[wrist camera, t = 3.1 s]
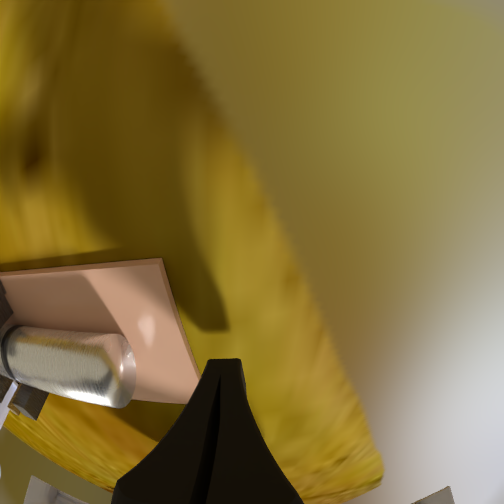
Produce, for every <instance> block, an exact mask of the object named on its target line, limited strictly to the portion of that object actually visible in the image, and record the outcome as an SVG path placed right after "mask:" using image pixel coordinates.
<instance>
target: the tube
mask: <svg viewBox="0 0 504 504" xmlns="http://www.w3.org/2000/svg"><path fill="white" fill-rule="evenodd" d="M0 374H1V375H3V376H5V377H8V378H10V379H13V380H15V381H17V382H20V383H22V384H26V385H29V386H32V387H35V388H38V389H41V390H44V391H47V392H50V393H54V394H57V395H61V396H64V397H68V398H72V399H76V400H80V401H84V402H88V403H93V404H98V405H103V406H108V407H113V408H123V407H125V406H126V405H127V404H128V403H129V402H130V400H131V398H132V396H133V393H134V390H135V385H136V363H135V358H134V354H133V351H132V348H131V346H130V344H129V342H128V341H127V340H126V338H125V337H123V336H122V335H120V334H110V333H92V332H77V331H65V330H55V329H45V328H37V327H29V326H24V325H14V324H8V323H5V324H4V325H3V326H2V328H1V329H0Z"/></svg>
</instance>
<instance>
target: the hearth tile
mask: <svg viewBox="0 0 504 504" xmlns="http://www.w3.org/2000/svg"><path fill="white" fill-rule="evenodd" d="M0 280H1V282H2V284H3V286H4V288H5V290H6V292H7V293H6V294H5V297H6V299H7V301H8V303H9V305H10V306H11V308H12V310H13V312H14V313H13V314H12V315H11V316H10V318H9V319H8V320H7V321H6V323H8V324H14V325H24V326H29V327H37V328H45V329H55V330H65V331H77V332H92V333H110V334H120V335H122V336H123V337H125V338H126V340H127V341H128V342H129V344H130V346H131V348H132V351H133V354H134V358H135V363H136V385H135V390H134V393H133V396H132V398H131V399H134V400H142V401H152V402H163V403H177V404H187V403H188V401H189V399H190V398H191V396H192V394H193V392H194V390H195V388H196V386H197V384H198V382H199V380H200V378H201V375H200V373H199V370H198V368H197V365H196V362H195V360H194V357H193V354H192V351H191V349H190V346H189V343H188V340H187V337H186V335H185V332H184V329H183V326H182V323H181V320H180V317H179V314H178V311H177V308H176V304H175V301H174V298H173V295H172V291H171V288H170V285H169V281H168V278H167V275H166V271H165V267H164V264H163V260H162V258H153V259H142V260H131V261H119V262H108V263H97V264H86V265H75V266H64V267H53V268H42V269H31V270H21V271H10V272H0Z"/></svg>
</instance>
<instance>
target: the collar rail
mask: <svg viewBox="0 0 504 504" xmlns="http://www.w3.org/2000/svg"><path fill="white" fill-rule="evenodd" d="M6 293H7V292H6V290H5V288H4V286H3V284H2V282H1V280H0V329H1V328H2V326H3V325H4V324H5V323H6V321H7V320H8V319H9V318H10V316H11V315H12V314H13V313H14V312H13V310H12V308H11V306H10V305H9V303H8V301H7V299H6V297H5V294H6ZM13 381H14V380H13V379H10V378H8V377H5V376H3V375H1V374H0V403H2V401H3V399H4V397H5V395H6V393H7V392H8V390H9V388H10V386H11V384H12V383H13ZM49 393H50V392H47V391H44V390H41V389H38V388H35V387H32V386H29V385H26V384H22V383H19V385H18V387H17V389H16V391H15V392H14V394H13V396H12V398H11V400H10V402H9V404H8V406H7V407H8V408H9V409H10V410H11V411H12V412H13V413H14V414H16V415H18V416H19V414H20V412H21V413H22V414H24V415H25V416H27V417H29V418H31V419H33V420H37V418H38V416H39V414H40V412H41V409H42V407H43V405H44V403H45V401H46V399H47V397H48V395H49Z"/></svg>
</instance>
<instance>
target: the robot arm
mask: <svg viewBox="0 0 504 504" xmlns="http://www.w3.org/2000/svg"><path fill="white" fill-rule="evenodd" d="M17 387H18V384H17V383H16V381H15V380H14V381H13V383H12V384H11V386H10V388H9V390H8V392H7V393H6V395H5V397H4V399H3V401H2V403H0V429H1V427H2V425H3V423H4V421H5V418H6V416H7V414H8V412H9V410H10V409H9V408H8V407H7V406H8V404H9V402H10V400H11V398H12V396H13V394H14V392H15V391H16V389H17ZM0 477H1V467H0ZM24 504H88V503H86V502H83V501H81V500H79V499H76V498H74V497H73V496H71V495H68V494H66V493H64V492H62V491H60V490H58V489H57V488H55V487H53V486H50V485H49V484H47V483H46V482H43V481H42V480H40V479H38V478H37V477H35V476H33V475H32V476H31V479H30V482H29V486H28V490H27V493H26V497H25V500H24ZM111 504H304V503H303V501H302V499H301V498H300V496H299V495H298V493H297V491H296V490H295V489H294V487H293V486H292V485H291V483H290V482H289V481H288V479H287V478H286V476H285V475H284V473H283V472H282V470H281V469H280V467H279V466H278V464H277V463H276V461H275V459H274V458H273V456H272V454H271V452H270V451H269V449H268V447H267V445H266V443H265V441H264V439H263V437H262V435H261V433H260V431H259V429H258V427H257V424H256V422H255V420H254V417H253V415H252V412H251V409H250V407H249V404H248V400H247V395H246V383H245V378H244V373H243V368H242V363H241V360H240V359H238V358H233V359H209V360H208V361H207V364H206V367H205V369H204V371H203V374H202V376H201V378H200V380H199V382H198V384H197V386H196V388H195V390H194V392H193V394H192V396H191V398H190V399H189V401H188V403H187V405H186V406H185V408H184V409H183V411H182V413H181V414H180V416H179V417H178V419H177V420H176V422H175V423H174V425H173V426H172V427H171V429H170V430H169V431H168V433H167V434H166V435H165V436H164V437H163V439H162V440H161V441H160V442H159V443H158V445H157V446H156V447H155V448H154V449H153V450H152V451H151V452H150V453H149V454H148V455H147V456H146V457H145V458H144V459H143V460H142V461H141V462H140V463H138V464H137V465H136V466H135V467H134V468H133V469H131V470H130V471H129V472H128V473H126V474H125V475H124V476H122V477H121V478H120V479H118V480H117V483H116V486H115V488H114V492H113V496H112V501H111ZM412 504H454V500H453V496H452V492H451V489H450V486H447V487H446V488H444V489H442V490H440V491H438V492H436V493H433V494H431V495H429V496H427V497H425V498H423V499H421V500H418V501H416V502H414V503H412Z"/></svg>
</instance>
